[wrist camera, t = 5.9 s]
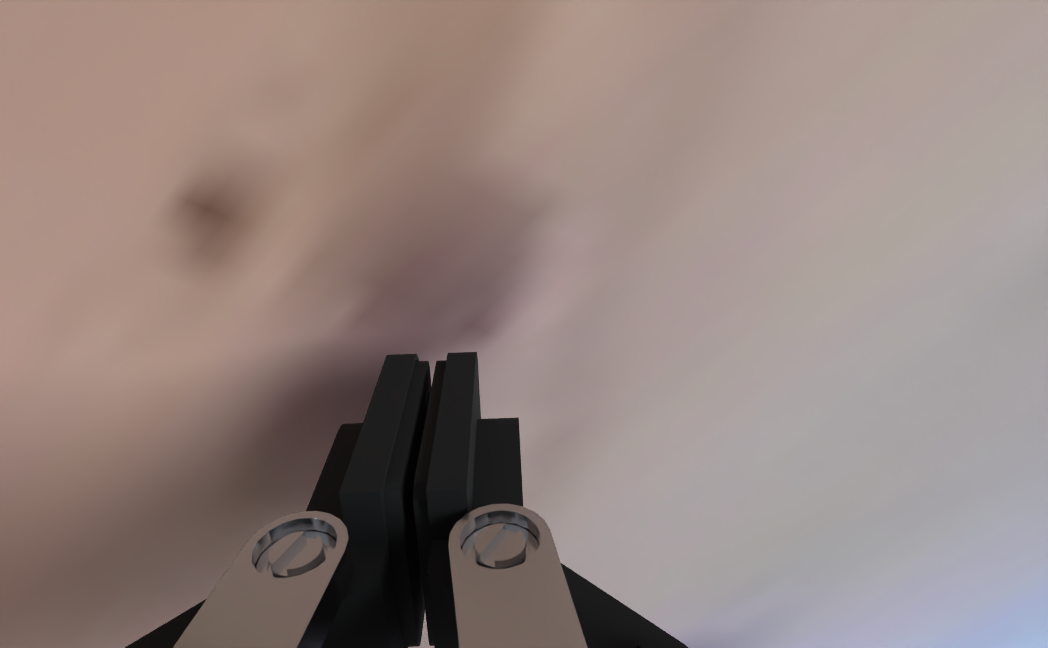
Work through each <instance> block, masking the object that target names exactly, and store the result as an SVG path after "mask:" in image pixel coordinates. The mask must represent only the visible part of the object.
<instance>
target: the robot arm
mask: <svg viewBox="0 0 1048 648" xmlns="http://www.w3.org/2000/svg"><path fill="white" fill-rule="evenodd" d="M425 612H426V621H427V630H428V638H429V644H430V646H435V648H688V647H687V646H686V645H685V644H683V643H682V642H680V641H679V640H677V639H675V638H674V637H672V636H671V635H669V634H668V633H666V632H665V631H663V630H662V629H660V628H659V627H657V626H656V625H654V624H653V623H651V622H650V621H648V620H647V619H645V618H644V617H642V616H641V615H639V614H638V613H636V612H634V611H633V610H631V609H630V608H628V607H627V606H625V605H624V604H622V603H621V602H619V601H618V600H616V599H615V598H613V597H612V596H610V595H609V594H607V593H606V592H604V591H603V590H601V589H600V588H598V587H597V586H595V585H593V584H592V583H590V582H589V581H587V580H586V579H584V578H583V577H581V576H580V575H578V574H577V573H575V572H574V571H572V570H571V569H569V568H568V567H566V566H565V565H563V564H562V563H560V559H559V556H558V553H557V550H556V547H555V544H554V541H553V537H552V534H551V531H550V529H549V527H548V526H547V524H546V522H545V520H544V519H542V518H541V517H540V516H539V515H538V514H537V513H535V512H534V511H532V510H529V509H527V508H525V507H523V495H522V475H521V456H520V437H519V419H518V418H499V419H481V413H480V394H479V376H478V359H477V352H464V353H448V355H447V360H446V361H437V362H436V366H435V372H434V377H433V382H432V388H431V377H430V367H429V362H428V361H419V359H418V356H417V354H403V355H387V356H386V359H385V361H384V364H383V367H382V370H381V373H380V376H379V379H378V382H377V385H376V387H375V390H374V393H373V396H372V399H371V402H370V405H369V408H368V411H367V414H366V416H365V419H364V422H363V423H356V424H343V425H341V427H340V429H339V430H338V433H337V435H336V438H335V440H334V443H333V445H332V448H331V450H330V453H329V455H328V458H327V460H326V463H325V465H324V468H323V470H322V473H321V475H320V478H319V480H318V483H317V485H316V488H315V490H314V493H313V495H312V498H311V500H310V503H309V505H308V508H307V510H306V511H303V512H297V513H293V514H289V515H285V516H283V517H280V518H278V519H276V520H274V521H271V522H269V523H268V524H266V525H265V526H264V527H262V528H261V529H259V530H258V531H256V532H255V533H254V535H253V536H252V537H251V538H250V539H249V540H248V541H247V542H246V543H245V545H244V546H243V548H242V549H241V551H240V552H239V554H238V555H237V556H236V558H235V559H234V561H233V562H232V564H231V565H230V566H229V568H228V569H227V571H226V572H225V574H224V575H223V576H222V578H221V579H220V581H219V582H218V584H217V585H216V587H215V588H214V589H213V591H212V592H211V594H210V595H209V597H208V598H207V599H206V600H204V601H202V602H201V603H199V604H197V605H196V606H194V607H192V608H191V609H189V610H187V611H186V612H184V613H182V614H181V615H179V616H177V617H175V618H174V619H172V620H170V621H169V622H167V623H165V624H164V625H162V626H160V627H159V628H157V629H155V630H154V631H152V632H150V633H149V634H147V635H145V636H144V637H142V638H140V639H139V640H137V641H135V642H133V643H132V644H130V645H128V646H127V647H125V648H408V647H412V646H420V643H421V636H422V629H423V621H424V613H425Z"/></svg>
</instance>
